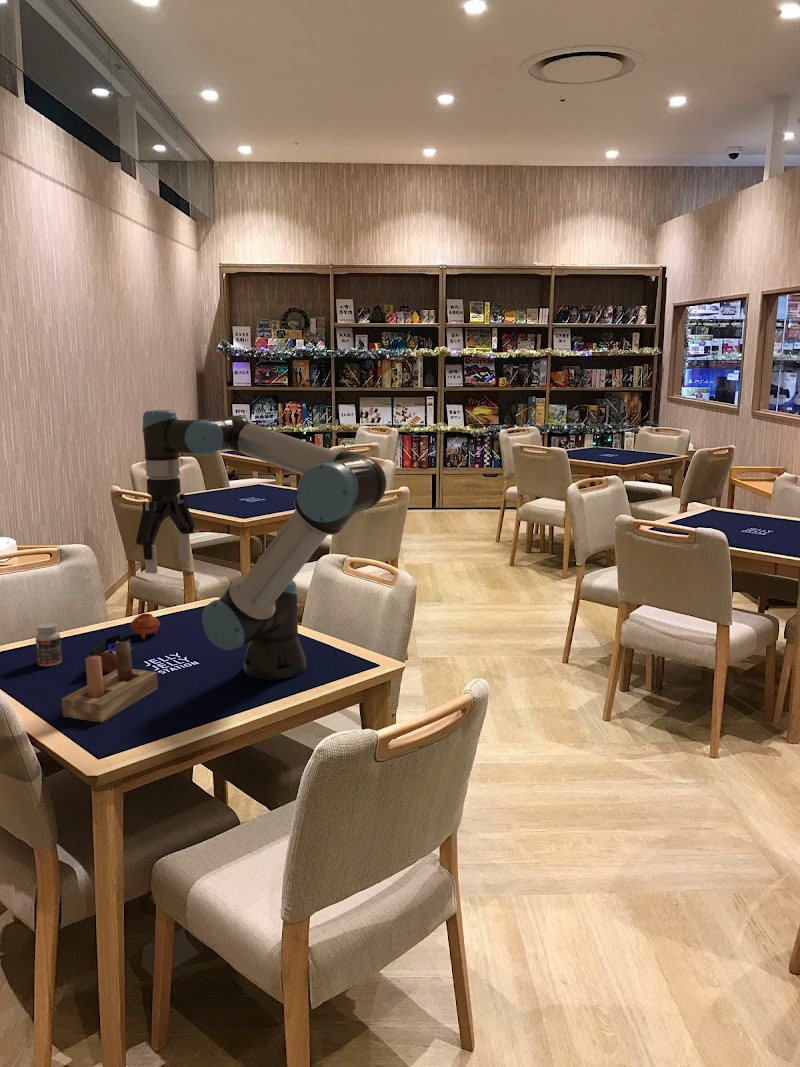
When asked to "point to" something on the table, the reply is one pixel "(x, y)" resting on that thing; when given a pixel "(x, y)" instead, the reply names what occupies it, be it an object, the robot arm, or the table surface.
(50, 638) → the pill bottle
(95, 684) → the terracotta peg
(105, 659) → the character figurine
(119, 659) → the walnut peg
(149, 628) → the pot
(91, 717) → the maple hole block
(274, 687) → the table surface
